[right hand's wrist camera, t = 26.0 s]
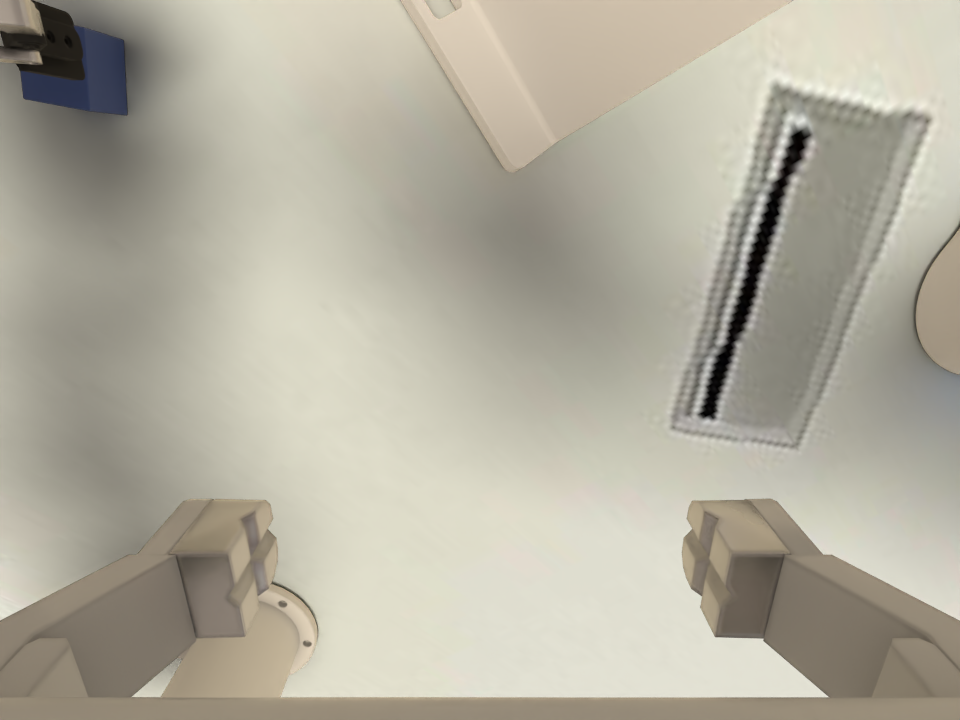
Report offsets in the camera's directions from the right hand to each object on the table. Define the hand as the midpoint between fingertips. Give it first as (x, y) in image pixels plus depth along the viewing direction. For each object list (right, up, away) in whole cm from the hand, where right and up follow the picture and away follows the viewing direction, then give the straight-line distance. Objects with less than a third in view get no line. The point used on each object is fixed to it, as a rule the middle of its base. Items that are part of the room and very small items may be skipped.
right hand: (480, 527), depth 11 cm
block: (-27, +23, +27) cm, 45 cm away
